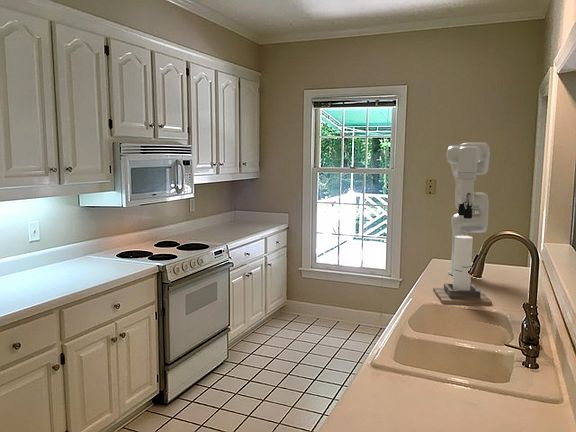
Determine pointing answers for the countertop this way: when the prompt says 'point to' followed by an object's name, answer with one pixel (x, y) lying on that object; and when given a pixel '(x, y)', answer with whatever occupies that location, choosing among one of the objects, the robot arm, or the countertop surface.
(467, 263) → the cylindrical container
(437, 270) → the countertop surface
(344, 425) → the countertop surface
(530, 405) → the countertop surface
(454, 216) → the robot arm
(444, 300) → the walnut caddy
